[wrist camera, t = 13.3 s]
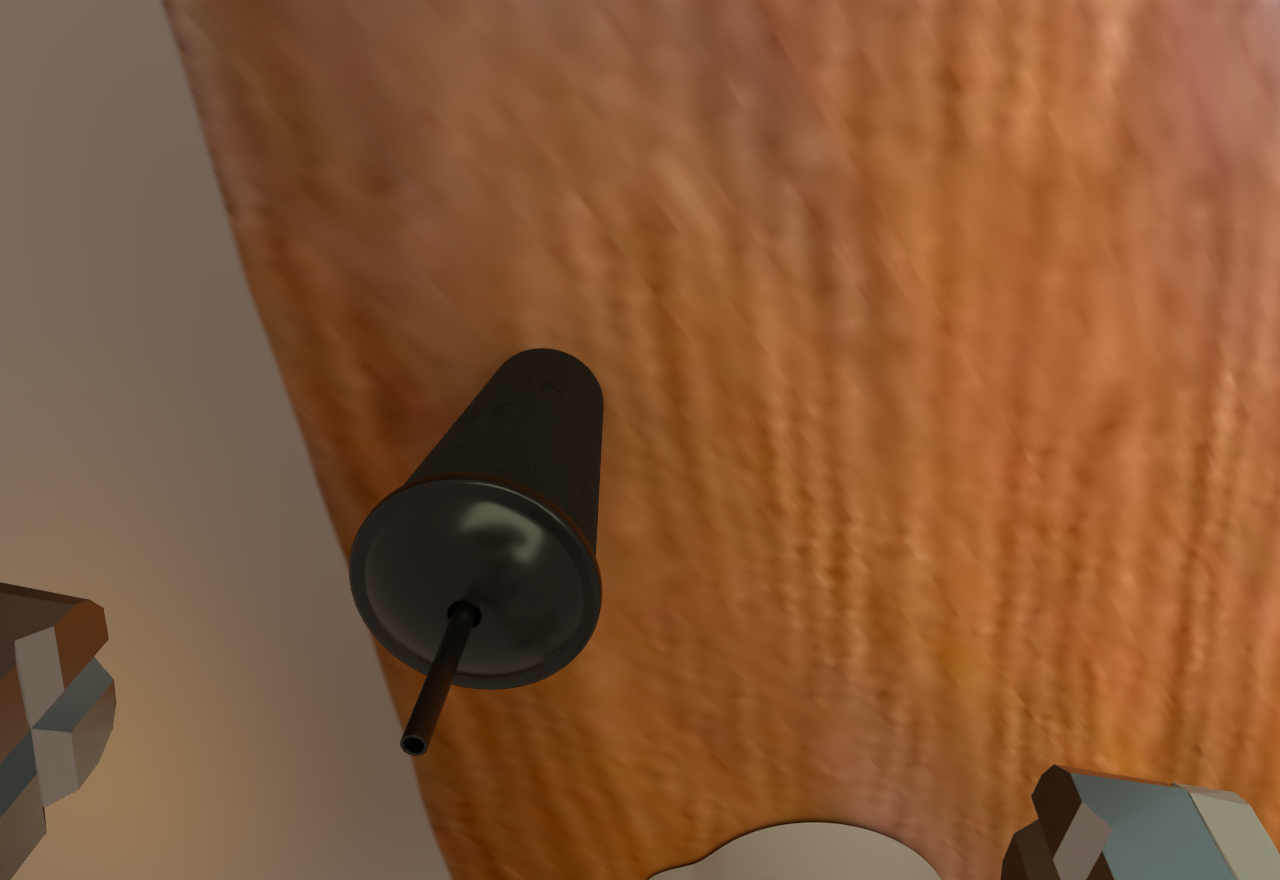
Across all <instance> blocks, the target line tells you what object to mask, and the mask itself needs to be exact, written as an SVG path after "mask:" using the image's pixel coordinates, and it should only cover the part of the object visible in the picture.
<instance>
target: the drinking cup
mask: <svg viewBox="0 0 1280 880" xmlns="http://www.w3.org/2000/svg"><path fill="white" fill-rule="evenodd" d="M602 424H603V395H602V391H601V388H600V386H599V383H598V381H597V379H596V378H595V376H594V375H593V373H592V372H591V371H590V370H589V369H588V368H587V367H586V366H585V365H584V364H583V363H582V362H581V361H579V360H578V359H576V358H575V357H573V356H571V355H569V354H567V353H564V352H561V351H558V350H553V349H531V350H527V351H524V352H521V353H519V354H517V355H515V356H513V357H511V358H510V359H509V360H507V361H506V362H505V363H504V364H503V365H502V366H501V367H500V368H499V369H498V371H497V372H496V373H495V374H494V376H493V377H492V378H491V379H490V380H489V382H488V383H487V384H486V385H485V387H484V388H483V389H482V390H481V391H480V393H479V394H478V395H477V396H476V398H475V399H474V400H473V401H472V402H471V404H470V405H469V406H468V407H467V408H466V410H465V411H464V412H463V413H462V415H461V416H460V417H459V418H458V419H457V421H456V422H455V423H454V424H453V426H452V427H451V428H450V429H449V430H448V432H447V433H446V434H445V435H444V436H443V438H442V439H441V440H440V441H439V443H438V444H437V445H436V446H435V447H434V449H433V450H432V451H431V452H430V454H429V455H428V456H427V457H426V458H425V460H424V461H423V462H422V463H421V465H420V466H419V467H418V468H417V469H416V471H415V472H414V473H413V474H412V475H411V477H410V478H409V479H408V480H407V482H406V483H405V484H404V485H403V486H402V487H400V488H398V489H396V490H395V491H393V492H392V493H390V494H389V495H387V496H386V497H385V498H384V499H382V500H381V501H380V502H379V503H378V504H377V505H376V506H375V507H374V508H373V509H372V511H371V512H370V513H369V515H368V516H367V517H366V519H365V520H364V522H363V523H362V525H361V527H360V528H359V530H358V532H357V535H356V537H355V539H354V542H353V545H352V549H351V554H350V560H349V579H350V586H351V591H352V595H353V598H354V601H355V604H356V607H357V609H358V611H359V613H360V615H361V617H362V619H363V621H364V622H365V624H366V625H367V627H368V628H369V630H370V631H371V633H372V634H373V635H374V636H375V638H376V639H377V640H378V641H379V642H380V643H381V644H382V645H383V646H384V647H385V648H386V649H387V650H388V651H389V652H390V653H392V654H393V655H394V656H395V657H397V658H398V659H399V660H401V661H402V662H403V663H405V664H407V665H408V666H410V667H411V668H413V669H415V670H417V671H419V672H421V673H422V674H424V675H427V677H426V679H425V682H424V684H423V687H422V689H421V692H420V694H419V697H418V699H417V702H416V704H415V707H414V709H413V711H412V714H411V716H410V719H409V721H408V724H407V726H406V729H405V731H404V734H403V736H402V738H401V741H400V746H401V748H402V750H403V751H404V752H406V753H407V754H410V755H413V756H419V755H422V754H424V753H425V752H426V751H427V749H428V746H429V743H430V740H431V738H432V735H433V732H434V730H435V727H436V724H437V722H438V719H439V716H440V713H441V711H442V708H443V705H444V703H445V700H446V697H447V695H448V692H449V689H450V686H451V684H452V685H456V686H461V687H466V688H474V689H489V690H491V689H492V690H493V689H507V688H515V687H520V686H524V685H528V684H531V683H535V682H537V681H540V680H542V679H545V678H547V677H549V676H551V675H553V674H554V673H556V672H558V671H559V670H561V669H562V668H564V667H565V666H566V665H567V664H569V663H570V662H571V661H572V660H573V659H574V658H575V657H576V656H577V655H578V654H579V653H580V652H581V651H582V650H583V648H584V647H585V646H586V644H587V643H588V641H589V639H590V638H591V636H592V634H593V632H594V630H595V627H596V624H597V621H598V618H599V614H600V609H601V603H602V579H601V574H600V569H599V566H598V562H597V559H596V541H597V521H598V502H599V482H600V463H601V444H602Z"/></svg>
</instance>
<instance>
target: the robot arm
mask: <svg viewBox="0 0 1280 880" xmlns="http://www.w3.org/2000/svg"><path fill="white" fill-rule="evenodd" d="M108 639H109V637H108V632H107V626H106V620H105V614H104V609H103V607H101V606H99V605H98V604H96V603H94V602H93V601H91V600H88V599H83V598H78V597H73V596H68V595H63V594H57V593H53V592H47V591H42V590H37V589H32V588H27V587H22V586H17V585H12V584H6V583H1V582H0V880H10V879H11V878H12V877H13V875H14V874H15V873H16V872H17V870H18V869H19V868H20V866H21V865H22V863H23V862H24V861H25V860H26V858H27V857H28V856H29V855H30V853H31V852H32V851H33V849H34V848H35V847H36V845H37V844H38V843H39V841H40V840H41V839H42V837H43V836H44V835H45V834H46V821H45V810H44V807H46V806H48V805H50V804H52V803H54V802H56V801H57V800H59V799H61V798H63V797H65V796H67V795H69V794H71V793H73V792H75V791H77V790H78V789H80V787H81V786H82V784H83V783H84V782H85V780H86V779H87V778H88V776H89V774H90V773H91V772H92V771H93V769H94V768H95V767H96V765H97V764H98V762H99V760H100V758H101V756H102V753H103V751H104V748H105V746H106V743H107V741H108V739H109V736H110V734H111V731H112V729H113V722H114V715H115V707H116V696H115V687H114V679H113V678H112V677H111V676H110V675H109V673H108V672H107V671H106V670H105V669H104V668H103V667H102V665H101V664H100V663H99V662H98V661H97V659H96V658H95V657H94V656H95V655H96V653H97V652H98V651H99V650H100V649H101V648H102V646H103V645H104V644H105V643H106V642H107V641H108ZM1031 798H1032V800H1033V803H1034V806H1035V809H1036V812H1037V815H1038V818H1039V819H1038V820H1036V821H1034V822H1032V823H1031V824H1029V825H1027V826H1026V827H1024V828H1022V829H1021V830H1019V831H1017V832H1015V833H1014V835H1013V837H1012V840H1011V842H1010V844H1009V847H1008V849H1007V852H1006V854H1005V857H1004V859H1003V862H1002V871H1001V880H1280V854H1279V852H1278V850H1277V849H1276V847H1275V845H1274V844H1273V842H1272V840H1271V839H1270V837H1269V836H1268V834H1267V832H1266V831H1265V829H1264V827H1263V826H1262V824H1261V822H1260V821H1259V819H1258V817H1257V816H1256V814H1255V812H1254V811H1253V809H1252V808H1251V806H1250V805H1249V804H1248V803H1247V802H1246V801H1245V800H1243V799H1242V798H1241V797H1240V796H1238V795H1237V794H1236V793H1235V792H1230V791H1224V790H1217V789H1211V788H1204V787H1198V786H1191V785H1185V784H1178V783H1172V784H1168V783H1165V782H1159V781H1153V780H1147V779H1141V778H1135V777H1129V776H1123V775H1117V774H1110V773H1104V772H1098V771H1092V770H1086V769H1080V768H1074V767H1067V766H1061V765H1055V764H1054V765H1053V766H1051V767H1050V768H1049V769H1048V770H1047V771H1046V772H1045V773H1043V774H1042V775H1041V777H1040V779H1039V781H1038V784H1037V786H1036V788H1035V790H1034V792H1033V794H1032V796H1031ZM649 880H941V878H940V877H939V875H938V874H937V873H936V871H935V870H934V869H933V868H932V867H931V866H930V865H929V864H928V863H927V862H926V861H925V860H924V859H923V858H922V857H921V856H919V855H918V854H917V853H916V852H914V851H913V850H911V849H910V848H908V847H907V846H905V845H903V844H901V843H899V842H898V841H896V840H894V839H891V838H889V837H887V836H884V835H882V834H879V833H876V832H873V831H870V830H866V829H863V828H859V827H854V826H849V825H842V824H834V823H794V824H786V825H780V826H774V827H770V828H766V829H762V830H759V831H755V832H753V833H750V834H747V835H745V836H742V837H740V838H738V839H736V840H734V841H732V842H730V843H728V844H726V845H725V846H723V847H722V848H720V849H719V850H717V851H716V852H714V853H713V854H711V855H710V856H708V857H707V858H705V859H703V860H701V861H700V862H697V863H695V864H693V865H688V866H684V867H680V868H676V869H672V870H668V871H665V872H662V873H659V874H657V875H655V876H653V877H651V878H650V879H649Z"/></svg>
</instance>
